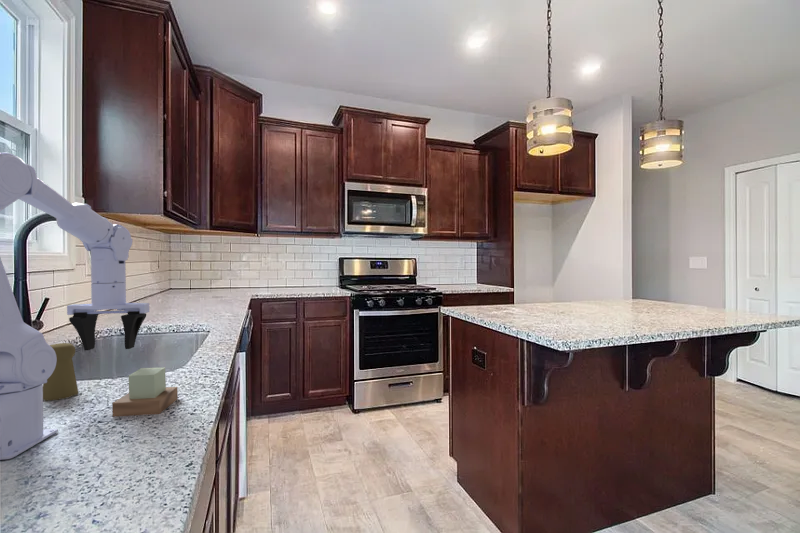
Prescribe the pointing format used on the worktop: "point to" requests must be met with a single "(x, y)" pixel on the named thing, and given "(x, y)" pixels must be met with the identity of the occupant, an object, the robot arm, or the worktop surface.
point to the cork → (61, 374)
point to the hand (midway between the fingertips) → (109, 348)
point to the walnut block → (145, 404)
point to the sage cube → (147, 383)
